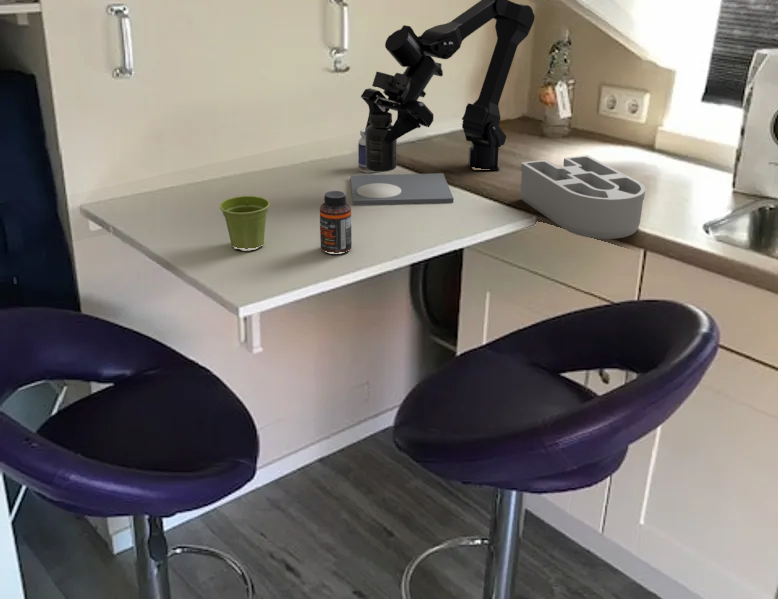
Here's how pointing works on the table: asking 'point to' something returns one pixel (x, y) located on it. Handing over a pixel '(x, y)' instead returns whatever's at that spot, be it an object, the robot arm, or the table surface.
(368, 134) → the supplement bottle
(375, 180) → the board
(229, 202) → the plant pot
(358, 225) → the table surface
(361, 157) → the pill bottle
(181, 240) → the table surface
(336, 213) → the supplement bottle
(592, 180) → the grey compartment organizer
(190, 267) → the table surface
